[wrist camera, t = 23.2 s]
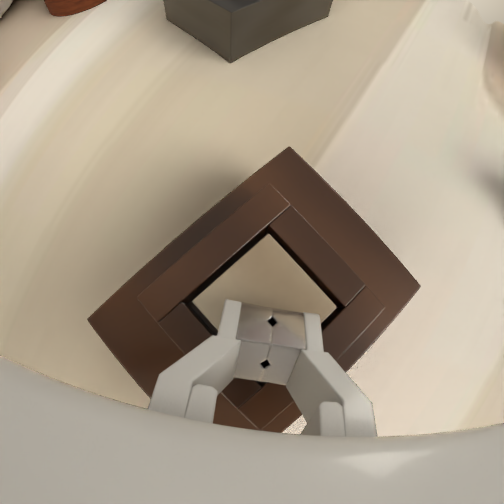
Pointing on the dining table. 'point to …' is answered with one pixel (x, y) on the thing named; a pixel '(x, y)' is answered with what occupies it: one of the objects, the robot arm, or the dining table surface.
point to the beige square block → (264, 284)
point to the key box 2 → (230, 251)
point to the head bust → (4, 6)
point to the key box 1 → (242, 21)
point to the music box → (70, 6)
